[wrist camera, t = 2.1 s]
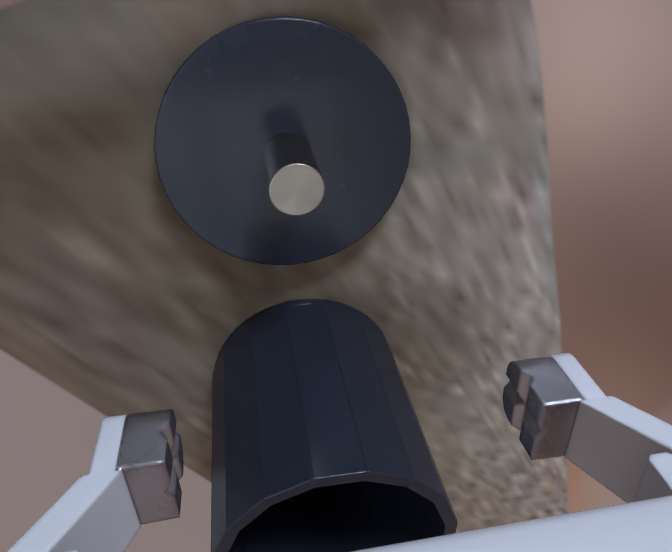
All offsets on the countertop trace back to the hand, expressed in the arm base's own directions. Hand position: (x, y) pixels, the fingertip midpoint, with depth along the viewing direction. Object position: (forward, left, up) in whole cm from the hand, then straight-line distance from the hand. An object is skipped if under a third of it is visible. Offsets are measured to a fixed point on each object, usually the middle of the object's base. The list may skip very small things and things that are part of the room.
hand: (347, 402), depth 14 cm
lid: (0, 0, -17) cm, 17 cm away
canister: (+14, -5, -18) cm, 23 cm away
